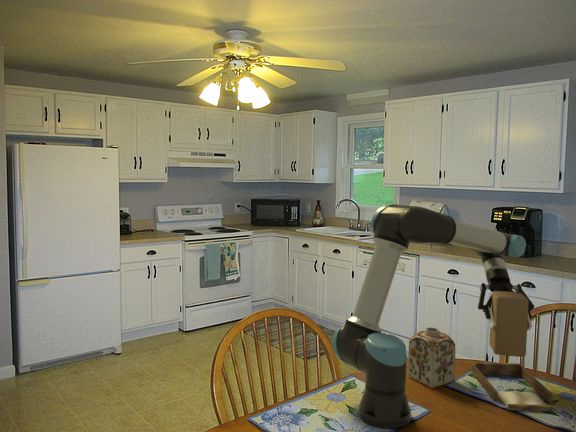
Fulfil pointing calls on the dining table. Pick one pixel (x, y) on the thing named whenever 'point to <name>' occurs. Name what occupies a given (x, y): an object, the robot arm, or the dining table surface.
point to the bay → (513, 398)
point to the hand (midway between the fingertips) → (511, 327)
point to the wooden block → (509, 323)
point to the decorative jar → (431, 358)
